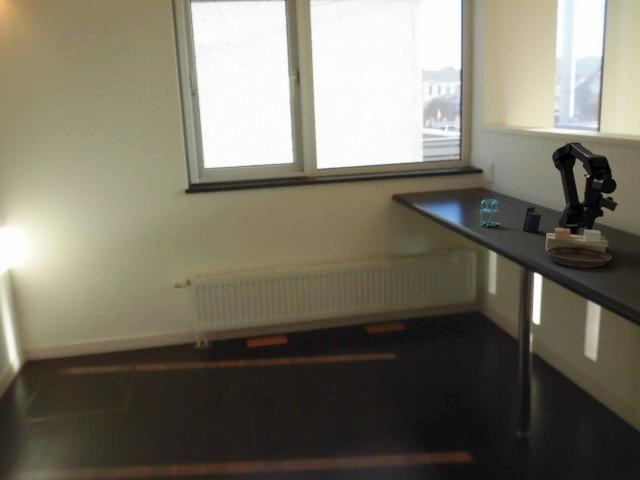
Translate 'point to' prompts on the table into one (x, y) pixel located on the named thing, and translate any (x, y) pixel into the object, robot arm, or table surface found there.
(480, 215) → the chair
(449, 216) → the table surface
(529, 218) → the speaker
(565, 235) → the tan clay block
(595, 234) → the light grey block
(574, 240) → the beige elongated piece
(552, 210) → the table surface
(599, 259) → the plant saucer
